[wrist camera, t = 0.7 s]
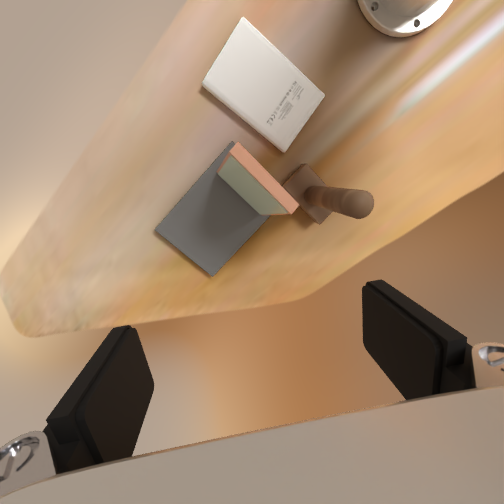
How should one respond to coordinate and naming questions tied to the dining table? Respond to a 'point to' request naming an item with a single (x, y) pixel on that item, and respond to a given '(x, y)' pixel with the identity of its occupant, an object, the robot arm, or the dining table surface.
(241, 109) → the external hard drive
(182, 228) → the mat
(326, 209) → the tool
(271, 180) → the tile
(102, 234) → the dining table surface
